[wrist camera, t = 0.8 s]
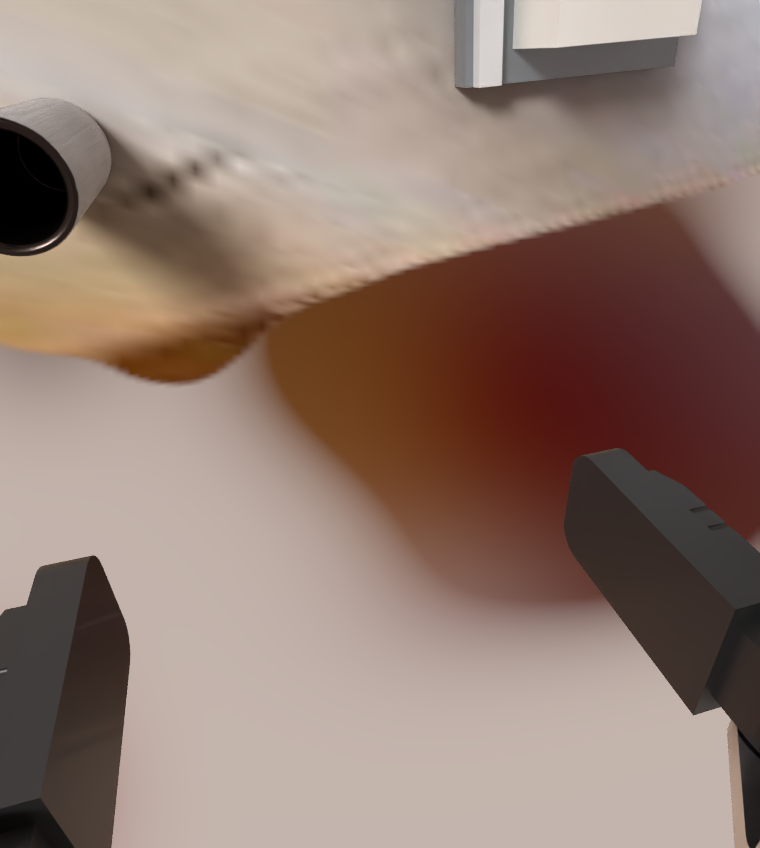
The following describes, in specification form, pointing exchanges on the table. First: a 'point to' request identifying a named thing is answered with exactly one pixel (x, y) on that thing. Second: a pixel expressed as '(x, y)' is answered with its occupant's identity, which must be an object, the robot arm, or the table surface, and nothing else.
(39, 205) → the planter
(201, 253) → the table surface
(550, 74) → the rail board
